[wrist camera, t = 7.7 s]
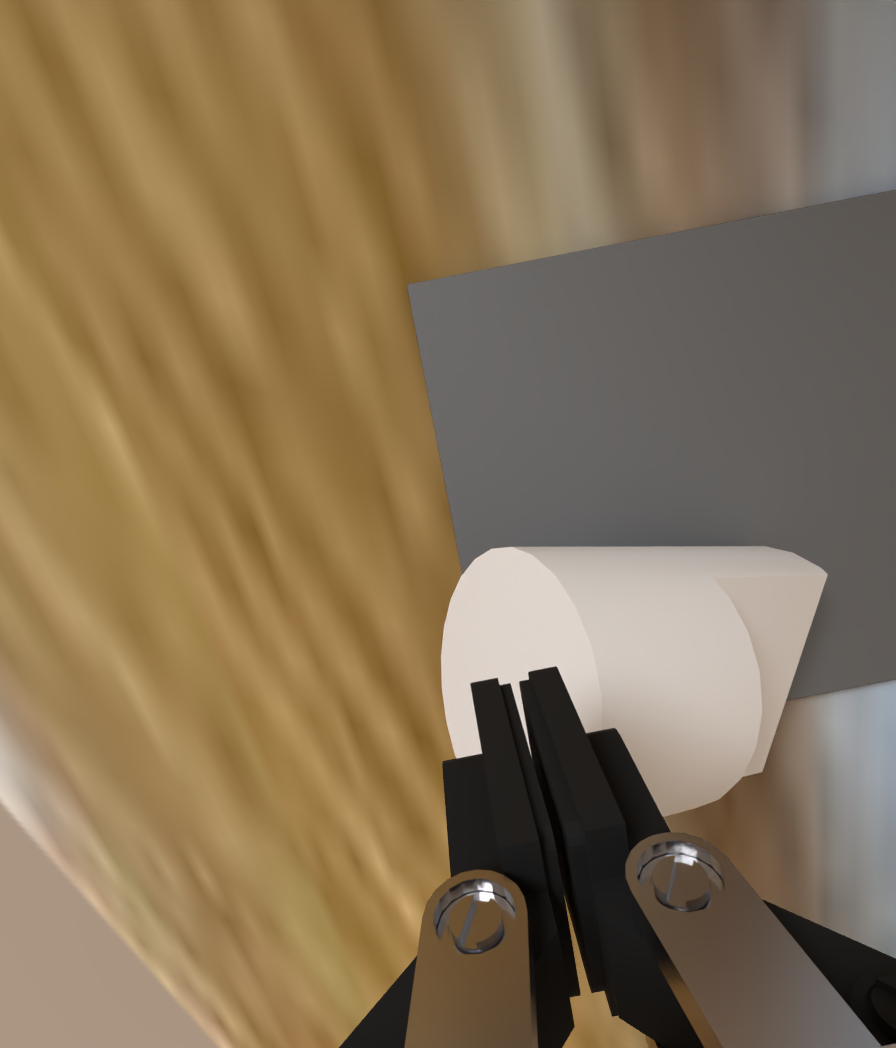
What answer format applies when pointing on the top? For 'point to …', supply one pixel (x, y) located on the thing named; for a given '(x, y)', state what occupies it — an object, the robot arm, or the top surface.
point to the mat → (688, 406)
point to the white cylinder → (641, 650)
